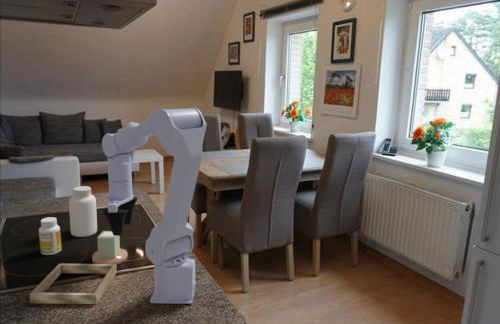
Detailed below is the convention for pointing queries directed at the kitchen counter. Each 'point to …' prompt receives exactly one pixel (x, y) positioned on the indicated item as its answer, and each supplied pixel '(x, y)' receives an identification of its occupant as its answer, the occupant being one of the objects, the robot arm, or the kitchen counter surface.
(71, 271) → the crate frame
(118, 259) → the coaster
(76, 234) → the pill bottle
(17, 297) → the kitchen counter surface
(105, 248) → the block
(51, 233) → the supplement bottle
